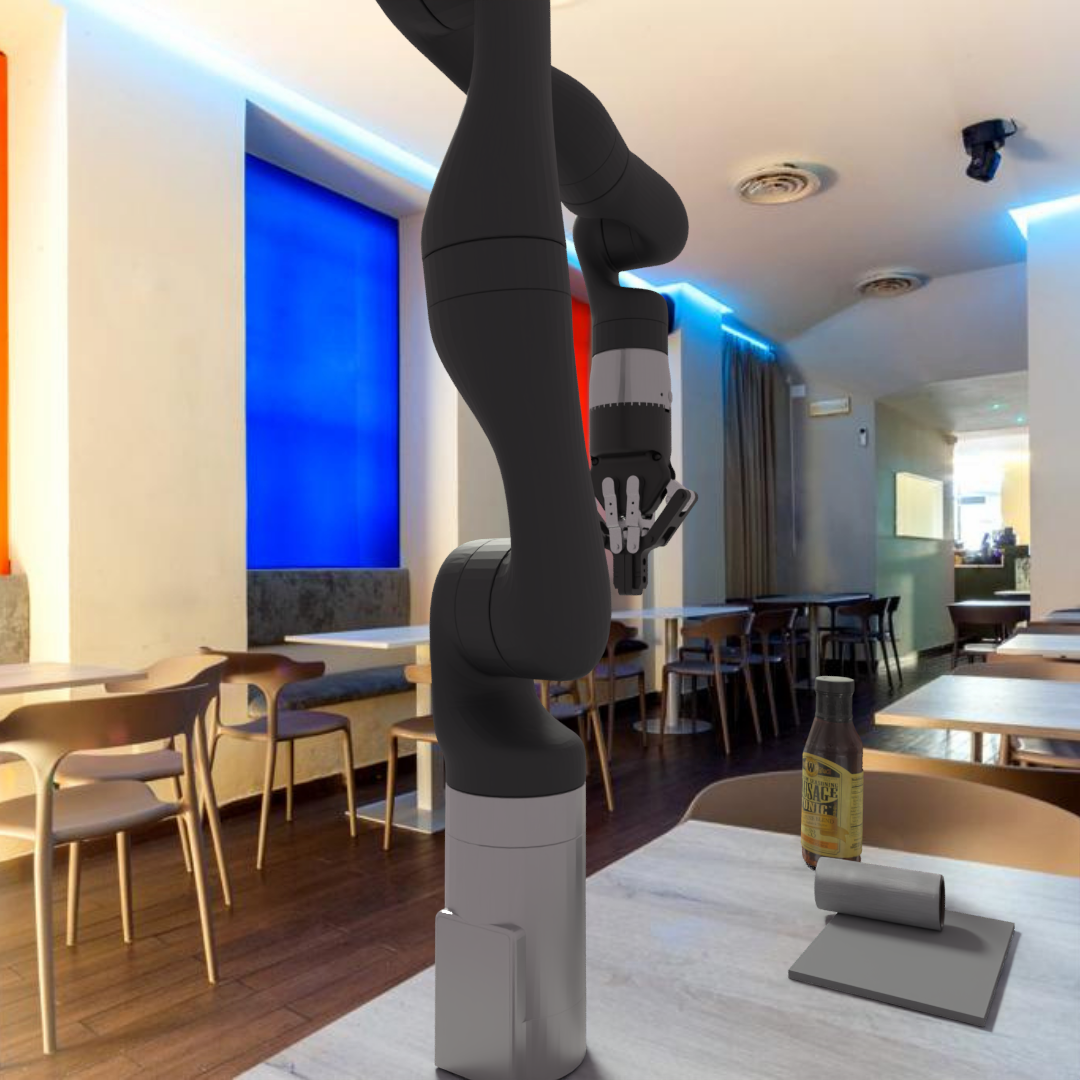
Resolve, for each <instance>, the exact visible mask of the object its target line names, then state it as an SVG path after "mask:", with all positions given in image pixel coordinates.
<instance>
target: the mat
mask: <svg viewBox="0 0 1080 1080" xmlns="http://www.w3.org/2000/svg"><path fill="white" fill-rule="evenodd" d="M1014 929H1015V922H1013V921H1007V920H1002V919H996V918H991V917H986V916H980V915H975V914H970V913H964V912H960V911H954V910H949V909H945V921H944V927H943V930H942V931H939V930H933V929H927V928H922V927H916V926H911V925H905V924H899V923H894V922H888V921H883V920H877V919H871V918H866V917H860V916H855V915H849V914H844V913H838V912H836V913H835V915H834V916H833V917H832V918H831V919H830V921H828V923H827V924H826V925H825V926H824V928H822V930H821V931H820V933H818V934H817V936H816V937H814V939H813V940H812V941H811V943H810V944H809V945H808V946H807V947H806V949H805V950H804V951H803V952H802V953H801V954H800V956H799V957H798V958H796V960H795V961H794V963H792V965H791V966H790V967H789V968H788V969H787V973H788V975H787V977H788V978H789V979H791V980H794V981H795V980H796V981H800V982H803V983H807V984H811V985H815V986H820V987H823V988H828V989H830V990H831V989H832V990H835V991H838V992H842V993H847V994H851V995H856V996H859V997H863V998H867V999H870V1000H875V1001H879V1002H883V1003H886V1004H892V1005H895V1006H899V1007H903V1008H906V1009H911V1010H915V1011H919V1012H923V1013H926V1014H929V1015H930V1014H931V1015H934V1016H939V1017H943V1018H947V1019H951V1020H955V1021H959V1022H962V1023H965V1024H966V1023H967V1024H970V1025H975V1026H978V1027H982V1028H984V1027H985V1025H986V1022H987V1019H988V1015H989V1013H990V1009H991V1006H992V1003H993V999H994V998H995V997H994V996H995V993H996V989H997V986H998V984H999V981H1000V977H1001V974H1002V971H1003V968H1004V965H1005V961H1006V959H1007V956H1008V952H1009V949H1010V947H1011V943H1012V940H1013V937H1012V935H1013V936H1014V933H1015V930H1014ZM1013 932H1014V933H1013ZM1011 939H1012V940H1011ZM1010 942H1011V943H1010Z"/></svg>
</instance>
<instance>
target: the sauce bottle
mask: <svg viewBox="0 0 1080 1080" xmlns="http://www.w3.org/2000/svg"><path fill="white" fill-rule="evenodd" d="M813 689H814V691H815V694H816V696H815V713H814V718H813V722H812V724H811V726H810V727H811V728H810V731H809V733H808V736H807V739H806V742H805V745H804V747H803V751H802V766H801V767H802V768H801V769H802V777H801V819H800V821H801V826H800V827H801V829H800V844H801V856H802V858H803V860H804V862H805V863H806V864H807V865H810V866H811V867H813V868H816V866H817V862H818V860H819V858H820V857H829V858H836V859H842V860H849V861H856V862H862V856H861V855H862V852H863V832H864V831H863V828H864V827H863V825H864V823H863V819H864V818H863V816H864V815H863V812H864V810H863V809H864V773H865V771H864V768H863V767H864V766H863V764H864V760H863V757H864V748H863V747H864V746H863V744H864V743H863V741H862V739H861V737H860V735H859V734H858V732H857V730H856V727H855V724H854V721H853V718H854V715H853V694H854V692H855V679H852V678H850V677H846V676H845V677H844V676H834V675H833V676H832V675H831V676H830V675H829V676H828V675H822V676H821V675H820V676H817V677H815V679H814V687H813Z"/></svg>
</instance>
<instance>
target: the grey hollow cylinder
mask: <svg viewBox="0 0 1080 1080" xmlns="http://www.w3.org/2000/svg"><path fill="white" fill-rule="evenodd" d="M814 873H815V874H814V882H813V883H814V884H813V885H814V887H813V891H814V893H813V894H814V900H815V906H816V907H817V909H818V910H822V911H828V912H833V913H837V912H838V913H844V914H849V915H855V916H860V917H866V918H871V919H877V920H883V921H888V922H894V923H899V924H905V925H911V926H916V927H922V928H927V929H933V930H939V931H942V930H943V927H944V921H945V910H946V883H945V882H946V881H945V878H944V877H945V876H943V874H940V873H934V872H927V871H921V870H916V869H915V870H914V869H910V868H909V869H907V868H903V867H901V868H900V867H894V866H888V865H881V864H876V863H868V862H862V861H861V862H856V861H849V860H842V859H836V858H829V857H820V858H819V860H818V862H817V866H816V867H815V872H814Z"/></svg>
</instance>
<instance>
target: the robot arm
mask: <svg viewBox="0 0 1080 1080" xmlns="http://www.w3.org/2000/svg"><path fill="white" fill-rule="evenodd" d="M375 2H376V4H377V5H378V6H379V8H380V9H381V10H382V12H383V14H384V15H385V16H386V17H387V19H388V20H389V22H390V23H391V24H392V25H393V26H394V27H395V28H396V29H397V31H399V32H400V34H401V35H402V36H403V37H404V38H405V39H406V40H407V41H408V42H409V44H411V45H412V46H413V47H414V48H415V49H416V50H418V52H419V53H421V54H422V55H423V56H424V57H425V59H427V60H428V61H429V62H431V64H432V65H434V67H435V68H437V69H438V70H439V71H440V72H441V74H443V75H444V76H445V77H447V79H449V80H450V82H451V83H453V84H454V85H455V86H456V87H457V88H458V89H459V90H460V91H461V92H462V93H464V94H465V96H466V98H465V102H464V105H463V107H462V111H461V112H460V113H461V114H460V116H459V119H458V122H457V125H456V127H455V129H454V132H453V134H452V137H451V139H450V142H449V145H448V147H447V149H446V152H445V153H444V156H443V159H442V161H441V164H440V167H439V169H438V172H437V174H436V177H435V180H434V183H433V186H432V188H431V190H430V194H429V197H428V199H427V204H426V208H425V211H424V216H423V219H422V220H423V221H422V227H421V232H420V233H421V235H420V247H421V251H420V253H421V261H422V269H423V277H424V278H423V279H424V290H425V298H426V307H427V319H428V325H429V330H430V336H431V339H432V343H433V345H434V348H435V351H436V353H437V355H438V358H439V360H440V362H441V364H442V366H443V368H444V370H445V371H446V374H447V375H448V377H449V378H450V381H452V383H453V385H454V387H455V388H456V390H457V391H458V394H459V395H460V396H461V397H462V399H463V400H464V402H465V403H466V405H467V407H468V408H469V410H470V411H471V413H472V414H473V416H474V417H475V419H476V421H477V423H478V424H479V425H480V428H481V429H482V432H484V434H485V436H486V439H488V442H489V444H490V447H491V448H492V450H493V452H494V455H495V458H496V461H497V465H498V467H499V472H500V475H501V479H502V480H501V481H502V483H503V489H504V495H505V500H506V501H505V502H506V509H507V517H508V526H509V527H508V528H509V535H510V536H509V537H498V538H493V537H492V538H482V539H474V540H470V541H467V542H464V543H462V544H461V545H459V546H457V547H456V548H455V549H453V550H451V551H450V552H449V554H448V555H447V556H446V558H445V559H444V561H443V562H442V563H441V566H440V567H439V569H438V572H437V574H436V577H435V581H434V584H433V588H432V592H431V600H430V606H429V625H428V626H429V627H428V628H429V629H428V630H429V656H430V658H429V659H430V675H431V676H430V677H431V679H430V680H431V697H432V699H431V701H432V702H431V703H432V720H433V721H432V722H433V728H434V733H435V737H436V741H437V744H438V746H439V748H440V751H441V753H442V756H443V759H444V764H445V765H444V766H445V768H444V769H445V770H444V771H445V817H444V818H445V821H444V822H445V823H444V824H445V827H444V828H445V829H444V830H445V831H444V836H445V837H444V840H445V841H444V908H442V909H441V910H439V911H437V913H436V915H435V919H434V920H435V924H434V925H435V927H434V929H435V933H434V937H435V939H434V940H435V941H434V943H435V945H434V947H435V948H434V956H435V957H434V976H435V977H434V1066H435V1067H437V1068H440V1069H443V1070H445V1071H448V1072H449V1073H453V1074H454V1075H458V1076H460V1077H461V1078H465V1079H468V1080H560V1079H561V1078H563V1077H566V1076H567V1075H569V1074H570V1073H572V1072H573V1071H574V1070H575V1069H577V1068H578V1067H579V1066H581V1063H582V1062H583V1061H584V1059H585V1057H586V1052H587V889H586V887H587V886H586V885H587V883H586V882H587V880H586V878H587V875H586V874H587V868H586V867H587V866H586V865H587V862H586V861H587V859H586V857H587V853H586V852H587V850H586V848H587V847H586V844H587V843H586V841H587V839H586V838H587V837H586V836H587V835H586V833H587V832H586V828H587V825H586V823H587V816H586V815H587V814H586V813H587V810H586V806H587V800H586V799H587V797H586V794H587V793H586V792H587V791H586V790H587V789H586V788H587V786H586V785H587V782H586V781H587V756H586V755H587V754H586V753H587V752H586V748H585V745H584V742H583V740H582V738H581V737H580V736H579V735H578V734H577V733H576V732H574V731H573V730H572V729H570V728H569V727H568V726H566V725H565V724H564V723H562V722H560V721H559V720H558V719H557V718H555V717H554V715H552V714H551V713H550V712H549V711H548V709H546V707H545V706H544V705H543V704H542V702H541V700H540V699H539V698H540V697H538V694H537V691H536V687H535V681H537V680H539V681H550V682H570V681H575V680H580V679H581V678H584V677H585V676H587V675H588V674H590V673H591V672H592V671H593V670H594V668H595V667H596V666H598V664H599V662H600V661H601V659H602V657H603V655H604V653H605V651H606V648H607V644H608V640H609V637H610V632H611V631H610V630H611V621H612V615H613V614H612V588H611V580H610V579H611V578H610V573H609V566H608V560H607V554H606V550H607V551H609V552H611V554H612V555H611V556H612V559H613V560H612V572H613V573H612V580H613V581H612V582H613V583H612V584H613V587H614V589H617V593H618V595H619V596H632V597H633V596H642V595H643V593H644V590H645V589H646V590H647V587H648V584H649V562H648V561H649V554H650V553H651V551H653V550H655V549H658V548H662V547H666V546H667V545H668V544H669V543H670V541H671V540H672V538H673V536H674V535H675V534H676V533H677V531H678V529H679V528H680V527H681V525H682V523H683V522H684V521H685V520H686V518H687V517H688V515H689V513H690V512H691V511H692V510H693V509H694V506H695V505H696V504H697V503H698V500H699V495H698V492H696V491H695V490H692V489H688V488H686V486H684V485H683V484H681V483H680V482H679V481H678V480H676V471H675V468H674V467H673V465H672V462H671V456H672V452H673V451H672V450H673V449H672V448H673V447H672V403H673V392H672V378H671V376H672V375H671V370H670V362H669V310H668V304H667V303H668V302H667V301H666V299H665V297H664V295H662V294H661V293H659V292H657V291H655V290H653V289H652V290H651V289H649V288H643V287H642V288H640V287H631V286H623V285H621V282H620V278H619V277H620V273H623V272H629V271H632V270H633V271H634V270H638V269H644V268H653V267H657V266H658V267H659V266H663V265H665V264H669V263H671V262H672V261H674V260H676V259H677V258H678V257H679V256H680V255H681V254H682V252H683V251H684V249H685V246H686V244H687V241H688V238H689V232H690V231H689V229H690V227H689V226H690V225H689V224H690V223H689V217H688V213H687V210H686V206H685V204H684V202H683V200H682V199H681V197H680V195H679V193H678V192H677V190H676V189H675V188H674V187H673V185H671V183H669V181H668V180H667V179H666V178H665V177H664V176H662V175H661V174H660V173H659V172H657V171H656V170H655V169H653V168H652V167H651V166H650V165H649V164H647V162H645V160H643V159H642V158H640V157H639V156H638V155H636V154H635V153H634V152H633V151H631V150H630V149H629V147H628V145H627V143H626V142H625V140H624V138H623V136H622V134H621V132H620V131H619V129H618V128H617V125H616V124H615V122H614V121H613V118H612V116H611V115H610V113H609V112H608V110H607V108H606V107H605V106H604V104H603V102H602V101H601V100H600V98H598V97H597V95H596V94H594V93H593V92H592V91H591V90H590V89H589V88H588V87H586V86H585V85H584V84H583V83H581V82H580V81H579V80H578V79H576V78H574V77H573V76H571V75H570V74H568V73H566V72H564V71H563V70H561V69H560V68H557V67H556V66H553V65H552V30H551V25H552V24H551V23H552V22H551V20H552V19H551V15H552V14H551V0H375ZM562 205H563V206H564V207H565V208H566V209H567V211H569V212H570V213H572V214H574V215H575V217H574V220H573V223H572V242H573V247H574V250H575V254H576V257H577V260H578V264H579V267H580V269H581V273H582V277H583V282H584V285H585V289H586V293H587V298H588V303H589V309H590V314H591V369H590V375H589V386H588V387H589V389H588V390H589V392H588V393H589V394H588V395H589V399H588V401H589V403H588V405H589V413H588V414H589V415H588V416H589V417H588V418H589V419H588V421H589V425H588V426H589V429H588V430H589V433H588V434H589V436H588V437H589V442H588V443H589V444H588V445H589V456H590V461H591V462H589V458H588V451H587V446H586V439H585V430H584V424H583V423H584V422H583V416H582V415H583V414H582V406H581V399H580V390H579V381H578V371H577V363H576V362H577V361H576V353H575V352H576V351H575V345H574V344H575V343H574V327H573V326H574V324H573V304H572V303H573V302H572V293H571V280H570V270H569V260H568V251H567V250H568V249H567V248H568V247H567V239H566V232H565V224H564V215H563V208H562V207H563V206H562ZM590 463H591V464H590ZM590 465H591V466H590ZM664 499H665V500H664ZM663 501H665V504H666V505H665V507H664V508H663V509H662V511H661V512H660V513H659V515H658V517H657V518H656V511H657V510H658V509H659V508H660V506H661V505H662V503H663ZM599 505H600V506H601V508H602V510H603V511H604V512H605V519H604V518H603V517H602V515H601V514H600V512H599V511H598V510H599V509H598V506H599Z"/></svg>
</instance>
